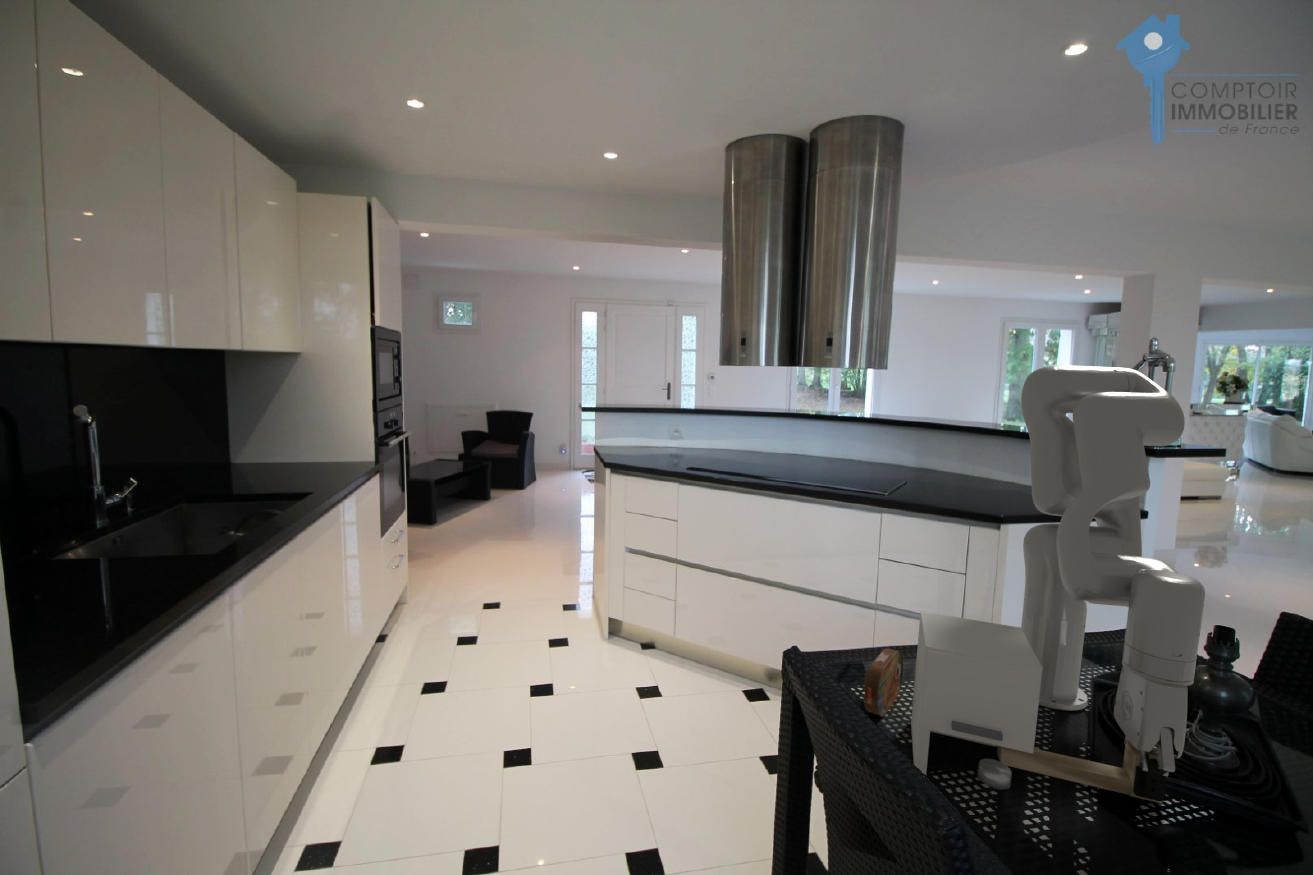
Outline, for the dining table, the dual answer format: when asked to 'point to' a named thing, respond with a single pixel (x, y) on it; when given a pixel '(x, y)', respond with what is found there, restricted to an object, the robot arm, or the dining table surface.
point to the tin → (883, 681)
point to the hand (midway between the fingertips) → (1141, 786)
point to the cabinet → (974, 685)
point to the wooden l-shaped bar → (1078, 768)
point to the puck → (994, 774)
